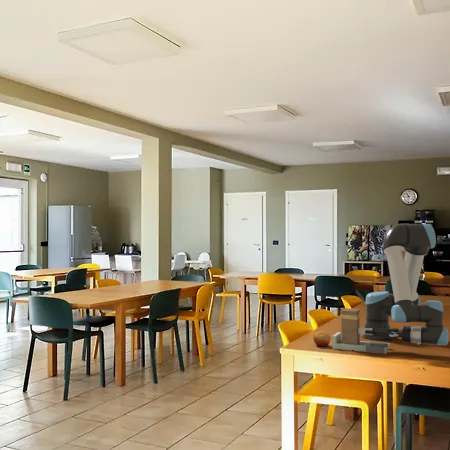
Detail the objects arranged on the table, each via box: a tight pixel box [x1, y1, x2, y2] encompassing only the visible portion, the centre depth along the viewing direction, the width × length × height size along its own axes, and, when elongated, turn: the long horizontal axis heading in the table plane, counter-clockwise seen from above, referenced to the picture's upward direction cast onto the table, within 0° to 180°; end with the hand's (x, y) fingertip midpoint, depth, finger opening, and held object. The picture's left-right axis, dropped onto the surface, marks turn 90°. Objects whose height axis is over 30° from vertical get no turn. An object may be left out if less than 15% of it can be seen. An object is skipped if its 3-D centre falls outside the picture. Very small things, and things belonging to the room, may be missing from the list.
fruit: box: [313, 330, 331, 347], centre depth 265 cm, size 8×8×8 cm
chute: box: [332, 331, 391, 355], centre depth 258 cm, size 13×24×6 cm, turn 65°
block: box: [340, 308, 361, 345], centre depth 260 cm, size 7×7×18 cm
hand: (358, 330), depth 258 cm, fingers closed
